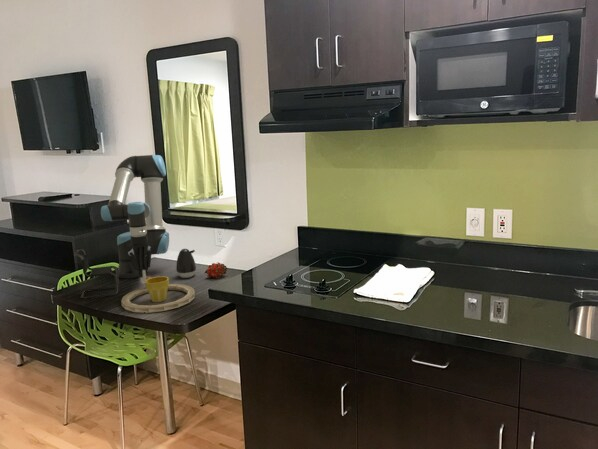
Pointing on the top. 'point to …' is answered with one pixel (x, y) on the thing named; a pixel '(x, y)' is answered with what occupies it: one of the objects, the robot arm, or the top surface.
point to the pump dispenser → (185, 264)
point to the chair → (97, 274)
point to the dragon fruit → (216, 270)
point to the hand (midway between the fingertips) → (143, 283)
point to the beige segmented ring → (157, 308)
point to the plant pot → (157, 288)
